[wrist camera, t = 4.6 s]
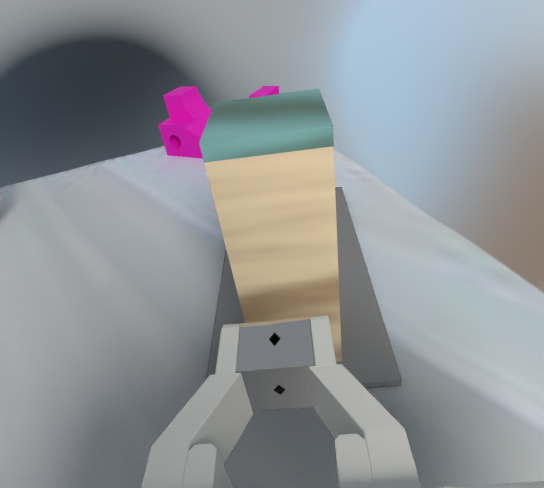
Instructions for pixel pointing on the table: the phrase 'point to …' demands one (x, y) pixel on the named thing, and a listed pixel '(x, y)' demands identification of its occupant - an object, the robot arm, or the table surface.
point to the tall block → (277, 204)
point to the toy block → (191, 120)
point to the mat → (353, 311)
